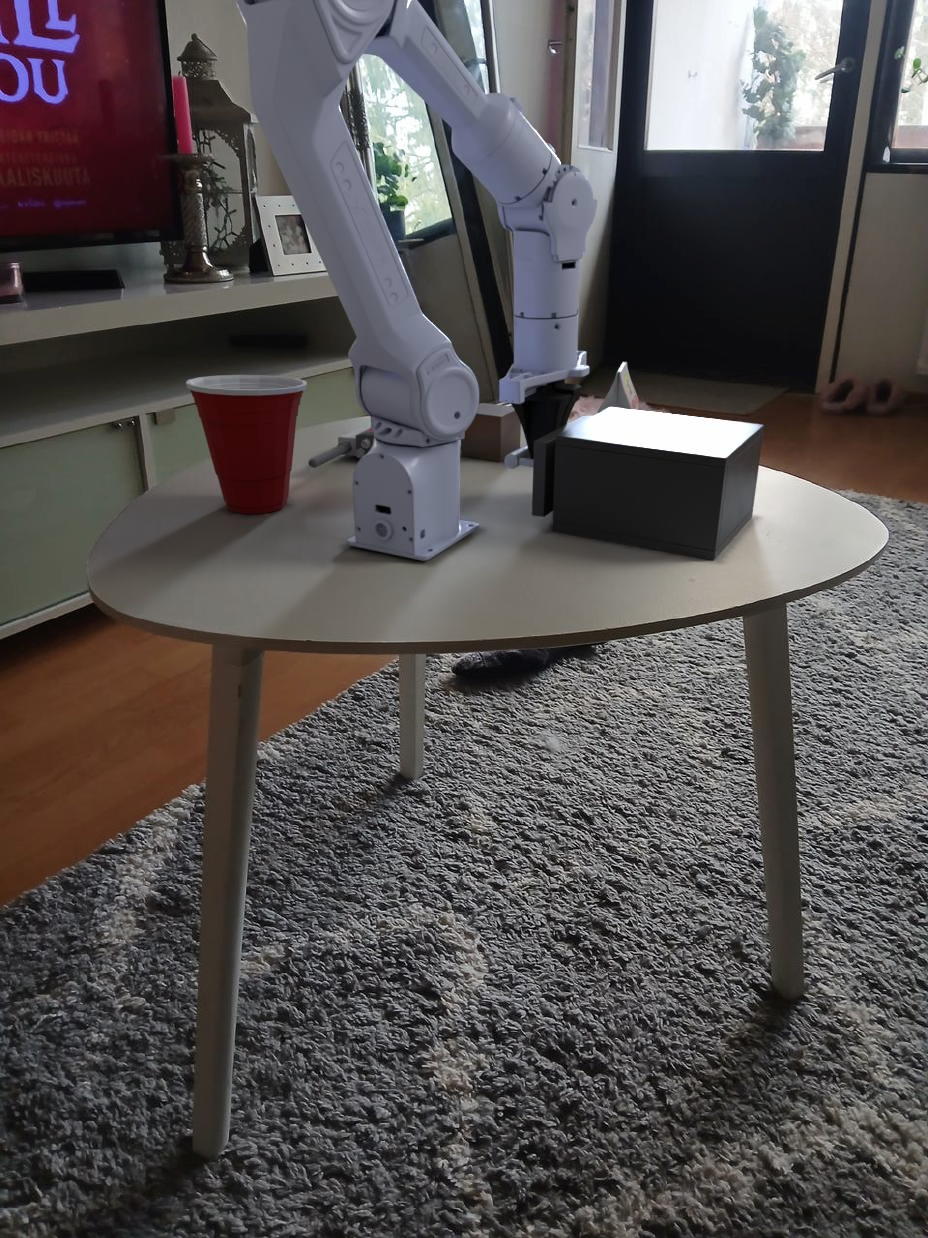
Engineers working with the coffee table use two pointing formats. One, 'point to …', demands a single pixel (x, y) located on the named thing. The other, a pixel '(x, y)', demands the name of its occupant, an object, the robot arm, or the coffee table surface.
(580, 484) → the cabinet
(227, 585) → the coffee table surface
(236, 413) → the plastic cup
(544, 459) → the drawer
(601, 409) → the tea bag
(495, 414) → the block
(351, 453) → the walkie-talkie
